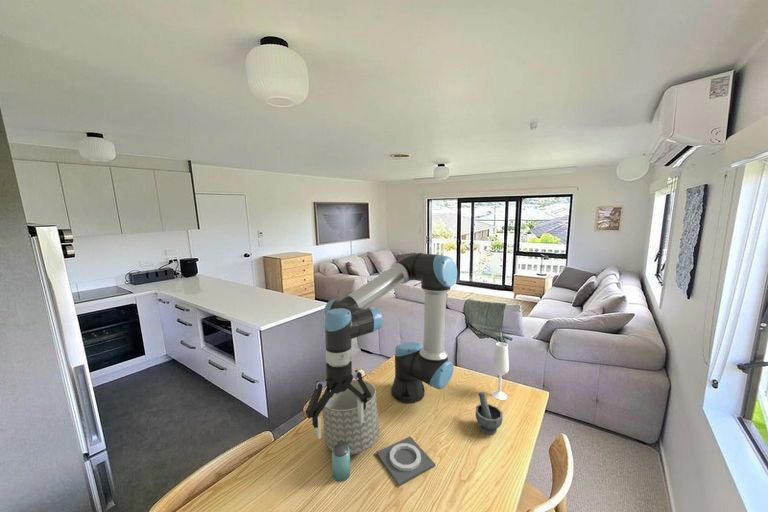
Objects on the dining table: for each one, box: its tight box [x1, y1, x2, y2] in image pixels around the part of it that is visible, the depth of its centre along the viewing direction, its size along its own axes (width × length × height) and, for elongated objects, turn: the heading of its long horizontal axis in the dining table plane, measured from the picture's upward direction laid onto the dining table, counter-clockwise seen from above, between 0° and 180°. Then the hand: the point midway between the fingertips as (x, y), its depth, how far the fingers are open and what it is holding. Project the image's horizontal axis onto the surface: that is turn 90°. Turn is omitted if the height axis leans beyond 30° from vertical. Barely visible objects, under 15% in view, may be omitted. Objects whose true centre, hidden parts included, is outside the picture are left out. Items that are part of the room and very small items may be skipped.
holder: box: [376, 436, 436, 487], centre depth 97 cm, size 14×14×2 cm
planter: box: [321, 379, 380, 456], centre depth 103 cm, size 19×19×18 cm
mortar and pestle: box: [475, 391, 503, 435], centre depth 111 cm, size 11×9×12 cm
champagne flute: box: [490, 341, 510, 401], centre depth 130 cm, size 7×7×24 cm
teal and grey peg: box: [331, 444, 351, 483], centre depth 91 cm, size 6×6×9 cm
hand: (340, 427), depth 89 cm, fingers open, 13 cm apart
